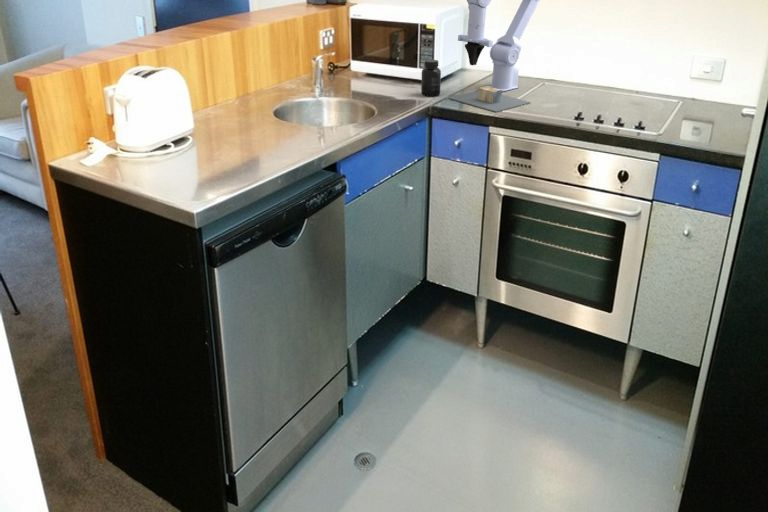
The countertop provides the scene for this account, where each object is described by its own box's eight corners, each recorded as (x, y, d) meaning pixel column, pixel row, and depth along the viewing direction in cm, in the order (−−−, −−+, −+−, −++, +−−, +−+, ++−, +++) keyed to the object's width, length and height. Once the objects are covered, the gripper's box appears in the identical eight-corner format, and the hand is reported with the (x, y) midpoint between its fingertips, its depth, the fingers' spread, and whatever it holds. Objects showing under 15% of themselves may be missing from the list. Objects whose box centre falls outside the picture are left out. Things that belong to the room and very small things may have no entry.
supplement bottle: (440, 92, 258) (441, 59, 252) (439, 97, 252) (441, 63, 246) (421, 91, 258) (422, 58, 253) (420, 96, 252) (421, 62, 247)
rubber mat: (482, 90, 261) (482, 89, 261) (530, 103, 246) (530, 102, 246) (448, 98, 250) (448, 97, 250) (496, 112, 236) (496, 111, 235)
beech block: (486, 86, 249) (501, 90, 244) (485, 97, 251) (500, 101, 246) (478, 87, 247) (494, 91, 242) (478, 99, 249) (493, 103, 244)
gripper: (453, 23, 248) (450, 62, 254) (484, 28, 239) (480, 69, 245) (466, 21, 253) (463, 60, 259) (498, 27, 243) (494, 67, 249)
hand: (473, 64), depth 252 cm, fingers closed
